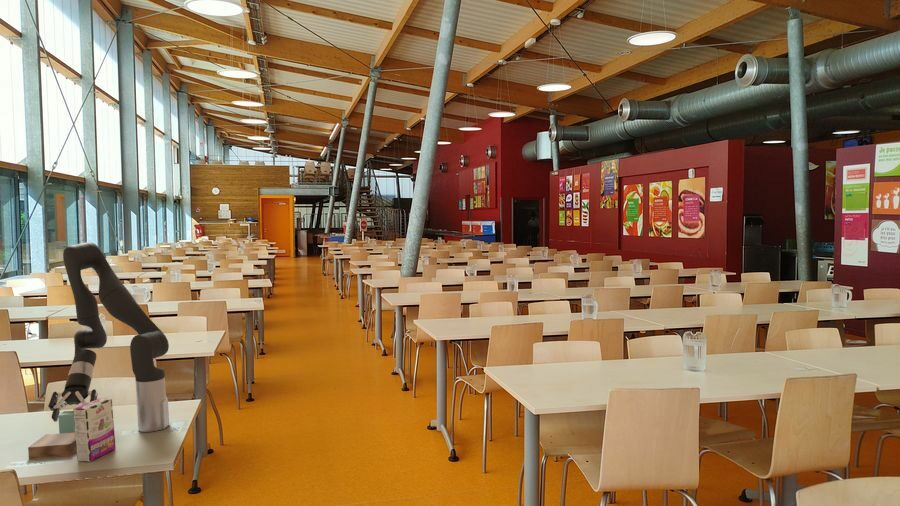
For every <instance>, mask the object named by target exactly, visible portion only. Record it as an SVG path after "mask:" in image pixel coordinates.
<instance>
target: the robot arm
mask: <svg viewBox="0 0 900 506" xmlns="http://www.w3.org/2000/svg"><path fill="white" fill-rule="evenodd" d="M62 257H63V263H64V268H65V272H66V275H67V278H68V282H69V285H70V287H71V291H72V295H73V298H74V304H75V312H76V320H77V323H78V324H79V325H80V326H84V327H88V328H87V329H86V328H85V329H79V330H78V331H77V332H75V334H74V335H73V343H74V357H73V358H72V359H73V360H72V362H71V363H72V364H71V366H70V369H69V371H68V374H67V378H66V382H65V384H64V390H63V391H62V392H57V391H54V392H52V394H51V398H50V399H49V400H50V401H49V403H48V405H47V406H48V407H47V408H48V409H50V411H52V414H51V419H52V420H53V422H58V421H59V420H58V415H60V414H61V413H60V411H61V410H62V409H64V408H66V407H67V406H73V405H75V406H76V405H80V404H81V406H82V405H84V404H87V403H88V402H86V399H87V398H88V397H90V399H89V402H91V401H94V400H97V399H98V391H97V390H96V389H92V390H91V391H90V387H91V383H92V380H93V376H94V369H95V364H96V360H97V353H96V352H95V351H94V350H91V349H102V348H103V347H105V345H106V344H107V341H108V336H107V333H106V330H105V329H104V326H103V324H102V322H101V319H100V315H99V306H98V301H97V298H96V296H95V295H94V293H93V292H92V291H91V290H90V288H88V287H87V285H86V283H84V281H83V279H82V274H81V272H82V271H83V270H87V269H90V268H91V269H92V270H94V271H95V273H96V275H97V277H98V280H99V281H98V282H99V283H98V284H99V285H98V299H99V301H100V303H101V304H102V306H103V307H104V309H106V311H107V313H108V314H109V315H110V316H112V317H113V318H114V319H116V320H118V321H120V322H121V323H123V324H124V325H127V326H128V327H130V328H131V329H133V330H134V331H135V333H137V335H134V336H133V337H132V339H131V340H130V341H131V342H130V345H129V349H130V351H129V352H130V359H131V361H130V362H131V369H132V373H133V375H134V378H135V395H136V397H135V398H136V410H137V412H136V413H137V429H138V431H140V433H141V432H143V433H149V432H157V431H161V430H165V429H167V427H168V426H169V425H170V412H169V410H170V409H169V397H167V394H166V393H167V392H166V375H165V369H164V368H162V367H156V365H155V364H154V359H157V358H160V357H162V356H164V355H166V354H167V353H168V351H169V349H170V348H169V346H170V344H169V340H168V339H167V336H166V335H165V333H164V332H163V331H162V330H161V329H160V327H158V325H156V323H155V322H153V321H152V320H151V318H150V317H149V316H148V315H147V314H146V312H145V311H144V310H143V308H142V307H141V306H140V305H139V304H138V302H137V301H136V300H135V298H134V296H133V295H132V293H130V291H129V289H128V288H127V287H126V286H125V285H124V284H123V282H122V281H121V279H119V277H118V276H117V274H116V272H114V270H113V268H112V267H111V265H110V264H109V262H108V260H107V258H106V256H105V255H104V253H103V252H102V250H101V248H100V247H99V246H98V245H97V244H96V243H94V242H93V241H86V242H82V243H77V244H72V245H68V246H66V247H65V248H64V249H63V253H62Z"/></svg>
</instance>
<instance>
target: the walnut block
mask: <svg viewBox="0 0 900 506" xmlns="http://www.w3.org/2000/svg"><path fill="white" fill-rule="evenodd" d="M27 448H28V459H29V460H31V459H44V458H55V457H57V458H59V457H68V456H69V457H71V456H72V455H73V454H75V453H77V447H76V435H75V432H72V433H59V432H58V433H49V434H48V433H47V434H44V435H43V436H42V437H40V438H39V439H38V440H36V441H35V442H33V443H32V444H31V445H29V446H28V447H27ZM74 452H75V453H74Z"/></svg>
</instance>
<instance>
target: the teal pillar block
mask: <svg viewBox="0 0 900 506" xmlns="http://www.w3.org/2000/svg"><path fill="white" fill-rule="evenodd" d="M57 421H58V434H59V433H72V432H75V424H74V412H73V410H65V411H63V412H61V413H59V415H58V420H57Z"/></svg>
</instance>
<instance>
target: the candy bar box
mask: <svg viewBox="0 0 900 506" xmlns="http://www.w3.org/2000/svg"><path fill="white" fill-rule="evenodd" d="M112 399H113V398H109V397H107V398H106V397H104V398H102V397H101V398H97V400H94V401H91V402H90V401H89V402H86V403H87V404H84V405H82V404H81V405H80V406H78V407H75V408H73V409H72V411H73V412H74V424H75V435H76V447H77V451H76V456H77V457H76V458H77V462H80V463H81V462H82V463H92V462H94V461H96V460H97V459H100V458H101V457H103V456H106V455H107V454H109V453H110V452H112V451H114V450H116V448H117V447H116V436H115V425H114V423H115V422H114V411H113V410H114V409H113V400H112Z"/></svg>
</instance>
